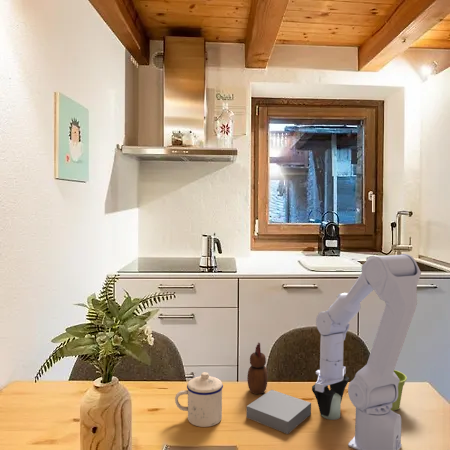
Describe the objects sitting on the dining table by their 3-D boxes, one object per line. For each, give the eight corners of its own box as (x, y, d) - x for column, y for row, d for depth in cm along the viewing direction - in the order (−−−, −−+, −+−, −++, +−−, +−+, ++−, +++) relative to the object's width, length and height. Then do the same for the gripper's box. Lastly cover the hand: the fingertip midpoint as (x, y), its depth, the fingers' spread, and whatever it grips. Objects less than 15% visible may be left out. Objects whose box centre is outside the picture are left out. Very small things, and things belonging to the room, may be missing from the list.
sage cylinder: (343, 414, 107) (343, 395, 107) (335, 421, 103) (336, 402, 103) (325, 408, 110) (325, 389, 110) (317, 415, 107) (317, 396, 106)
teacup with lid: (221, 408, 109) (221, 365, 109) (224, 427, 100) (224, 380, 100) (175, 410, 108) (175, 367, 108) (174, 429, 99) (174, 382, 99)
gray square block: (310, 414, 107) (311, 402, 107) (287, 434, 98) (288, 421, 98) (271, 400, 115) (271, 389, 114) (246, 417, 105) (246, 406, 105)
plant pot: (369, 411, 109) (370, 379, 108) (368, 395, 118) (368, 366, 117) (407, 417, 106) (408, 384, 105) (403, 400, 115) (404, 370, 114)
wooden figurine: (266, 397, 116) (266, 345, 115) (245, 395, 117) (246, 343, 116) (268, 387, 123) (269, 337, 122) (249, 385, 124) (249, 336, 123)
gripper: (328, 346, 114) (327, 394, 115) (304, 362, 103) (303, 415, 104) (353, 352, 110) (352, 402, 111) (331, 369, 99) (329, 424, 99)
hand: (330, 409), depth 107 cm, fingers open, 7 cm apart
